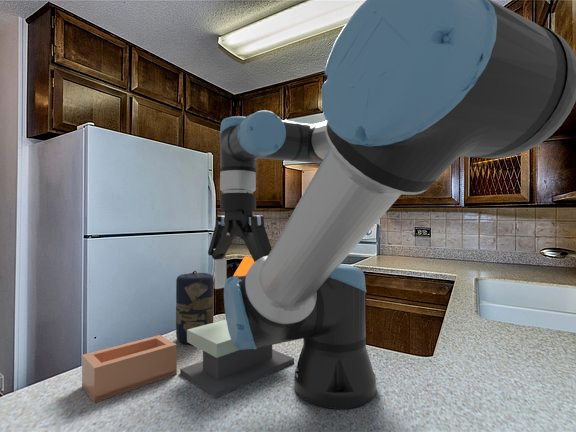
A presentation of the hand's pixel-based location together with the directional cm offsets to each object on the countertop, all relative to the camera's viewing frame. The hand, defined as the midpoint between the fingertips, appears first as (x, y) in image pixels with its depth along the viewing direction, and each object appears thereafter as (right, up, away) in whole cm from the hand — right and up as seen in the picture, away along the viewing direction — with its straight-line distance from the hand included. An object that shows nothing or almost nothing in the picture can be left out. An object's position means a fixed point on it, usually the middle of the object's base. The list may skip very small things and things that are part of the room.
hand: (238, 292), depth 70 cm
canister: (-14, -16, +17) cm, 27 cm away
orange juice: (0, -16, +29) cm, 33 cm away
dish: (-20, -16, -5) cm, 26 cm away
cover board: (0, -9, 0) cm, 9 cm away
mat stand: (0, -16, 0) cm, 16 cm away
